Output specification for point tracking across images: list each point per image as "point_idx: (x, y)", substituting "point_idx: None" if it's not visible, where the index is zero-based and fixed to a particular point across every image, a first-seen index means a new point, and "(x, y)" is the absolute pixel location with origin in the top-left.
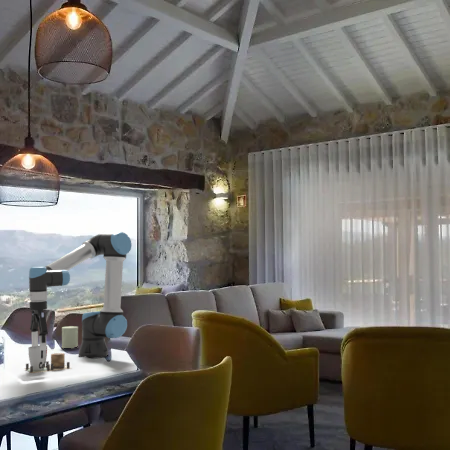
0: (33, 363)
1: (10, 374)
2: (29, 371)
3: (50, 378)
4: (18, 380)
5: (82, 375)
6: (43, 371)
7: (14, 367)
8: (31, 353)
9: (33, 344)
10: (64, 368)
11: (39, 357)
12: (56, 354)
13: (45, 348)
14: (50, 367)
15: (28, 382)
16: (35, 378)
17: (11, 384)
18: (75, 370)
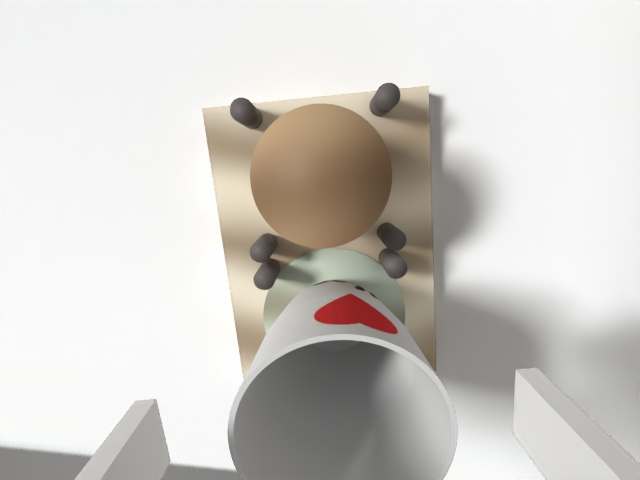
0: (379, 380)
1: None
2: None
3: (573, 274)
4: (508, 435)
5: (624, 55)
6: (420, 295)
7: (89, 404)
8: (391, 459)
9: (156, 467)
10: (394, 139)
11: (417, 370)
12: (333, 195)
13: (550, 390)
14: None
15: (599, 399)
16: (513, 350)
17: None
18: (408, 57)
